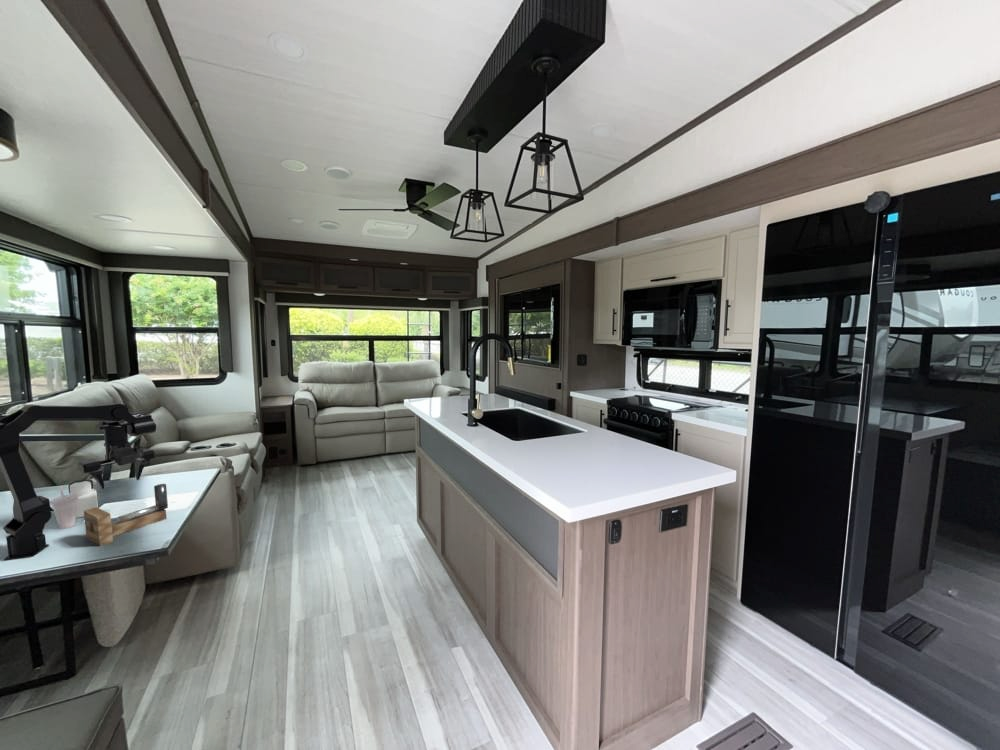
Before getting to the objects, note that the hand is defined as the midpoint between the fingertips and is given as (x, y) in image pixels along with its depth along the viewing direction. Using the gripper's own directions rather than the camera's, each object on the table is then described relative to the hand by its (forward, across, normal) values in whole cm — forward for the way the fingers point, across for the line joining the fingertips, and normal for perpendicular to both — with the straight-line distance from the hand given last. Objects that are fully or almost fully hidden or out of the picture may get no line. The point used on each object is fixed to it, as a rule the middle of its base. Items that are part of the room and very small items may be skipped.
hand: (120, 484), depth 137 cm
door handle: (+9, +2, -10) cm, 14 cm away
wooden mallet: (+13, -2, -10) cm, 16 cm away
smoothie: (+13, -11, +12) cm, 21 cm away
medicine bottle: (+13, -4, +20) cm, 24 cm away
